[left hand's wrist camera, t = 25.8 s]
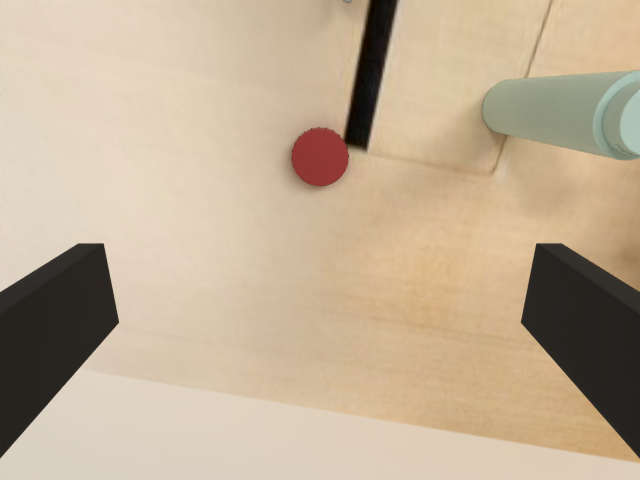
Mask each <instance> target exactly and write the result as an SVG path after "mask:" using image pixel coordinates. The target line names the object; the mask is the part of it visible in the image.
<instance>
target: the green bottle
mask: <svg viewBox="0 0 640 480" xmlns="http://www.w3.org/2000/svg"><path fill="white" fill-rule="evenodd" d="M482 116H483V119H484V122H485V123H486V125H487V126H488V127H489V128H490V129H491V130H493V131H495V132H497V133H501V134H506V135H510V136H514V137H519V138H523V139H528V140H532V141H537V142H541V143H546V144H550V145H555V146H559V147H564V148H568V149H573V150H577V151H582V152H586V153H591V154H595V155H599V156H604V157H608V158H613V159H618V160H634V159H638V158H640V70H633V71H619V72H606V73H592V74H578V75H564V76H550V77H536V78H522V79H509V80H504V81H502V82H500V83H498V84H496V85H495V86H494V87H493V88H492V89H491V90H490V91H489V92H488V93H487V95H486V97H485V99H484V102H483V106H482Z"/></svg>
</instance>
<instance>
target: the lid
mask: <svg viewBox="0 0 640 480" xmlns="http://www.w3.org/2000/svg"><path fill="white" fill-rule="evenodd" d="M344 142H345V141H344V140H342V138H341V137H340V135H338V134H337V133H335V132H334V130H330V129H327V128H319V127H318V128H314V129H312V128H311V130H308V131H306V132H304V134H302V135H301V136H299V137H298V140H297V142H295V144H294V145H295V146H294V148H293V150H292V158H291V159H292V163H293V167H294V169H295V171H296V173H297V174H298V176H299V177H300V178H301V179H302V180H303V181H305V182H307V183H309V184H311V185H315V186H326V185H329V184H332V183H334V182H335V181H337V180H338V179H339V178H340V177H341V176H342V175H343V173H344V172H345V171H346V168H347V164H348V157H349V155H348V151H347V149H348V148H347V147H346V145H345V143H344Z"/></svg>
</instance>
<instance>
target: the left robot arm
mask: <svg viewBox="0 0 640 480" xmlns="http://www.w3.org/2000/svg"><path fill="white" fill-rule="evenodd" d="M118 323H119V319H118V314H117V309H116V304H115V299H114V294H113V289H112V284H111V279H110V273H109V268H108V263H107V258H106V253H105V248H104V244H77V245H75V246H74V247H72V248H70V249H69V250H67V251H66V252H64V253H62V254H61V255H59V256H58V257H56V258H54V259H53V260H51V261H49V262H48V263H46V264H45V265H43V266H41V267H40V268H38V269H37V270H35V271H33V272H32V273H30V274H29V275H27V276H25V277H24V278H22V279H21V280H19V281H17V282H16V283H14V284H13V285H11V286H9V287H8V288H6V289H5V290H3V291H1V292H0V458H1V457H2V456H3V455H4V453H5V452H6V451H7V450H8V449H9V448H10V447H11V446H12V444H13V443H14V442H15V441H16V440H17V439H18V438H19V436H20V435H21V434H22V433H23V432H24V431H25V430H26V428H27V427H28V426H29V425H30V424H31V423H32V422H33V420H34V419H35V418H36V417H37V416H38V415H39V414H40V412H41V411H42V410H43V409H44V408H45V407H46V406H47V404H48V403H49V402H50V401H51V400H52V399H53V398H54V396H55V395H56V394H57V393H58V392H59V391H60V389H61V388H62V387H63V386H64V385H65V384H66V383H67V382H68V380H69V379H70V378H71V377H72V376H73V375H74V374H75V372H76V371H77V370H78V369H79V368H80V367H81V366H82V364H83V363H84V362H85V361H86V360H87V359H88V358H89V356H90V355H91V354H92V353H93V352H94V351H95V350H96V348H97V347H98V346H99V345H100V344H101V343H102V342H103V340H104V339H105V338H106V337H107V336H108V335H109V334H110V332H111V331H112V330H113V329H114V328H115V327H116V326H117V324H118ZM521 323H522V324H523V326H524V327H525V328H526V329H527V330H528V331H529V332H530V334H531V335H532V336H533V337H534V338H535V339H536V340H537V342H538V343H539V344H540V345H541V346H542V347H543V348H544V350H545V351H546V352H547V353H548V354H549V355H550V356H551V358H552V359H553V360H554V361H555V362H556V363H557V364H558V366H559V367H560V368H561V369H562V370H563V371H564V372H565V374H566V375H567V376H568V377H569V378H570V379H571V380H572V382H573V383H574V384H575V385H576V386H577V387H578V388H579V390H580V391H581V392H582V393H583V394H584V395H585V396H586V398H587V399H588V400H589V401H590V402H591V403H592V404H593V406H594V407H595V408H596V409H597V410H598V411H599V412H600V414H601V415H602V416H603V417H604V418H605V419H606V420H607V422H608V423H609V424H610V425H611V426H612V427H613V428H614V430H615V431H616V432H617V433H618V434H619V435H620V436H621V438H622V439H623V440H624V441H625V442H626V443H627V444H628V446H629V447H630V448H631V449H632V450H633V451H634V452H635V454H636V455H637V456H638V457H639V458H640V292H639V291H637V290H635V289H634V288H632V287H631V286H629V285H627V284H626V283H624V282H623V281H621V280H619V279H618V278H616V277H615V276H613V275H611V274H610V273H608V272H607V271H605V270H603V269H602V268H600V267H599V266H597V265H595V264H594V263H592V262H590V261H589V260H587V259H586V258H584V257H582V256H581V255H579V254H578V253H576V252H574V251H573V250H571V249H570V248H568V247H566V246H565V245H563V244H536V248H535V253H534V258H533V263H532V268H531V273H530V279H529V284H528V289H527V294H526V299H525V304H524V309H523V314H522V319H521Z"/></svg>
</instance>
